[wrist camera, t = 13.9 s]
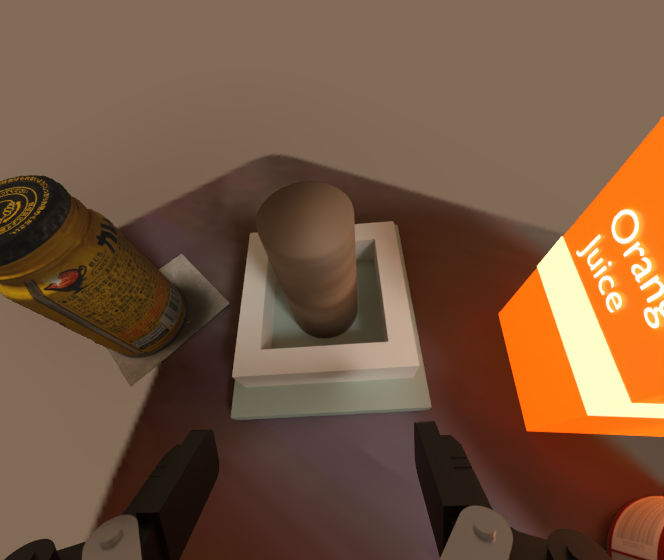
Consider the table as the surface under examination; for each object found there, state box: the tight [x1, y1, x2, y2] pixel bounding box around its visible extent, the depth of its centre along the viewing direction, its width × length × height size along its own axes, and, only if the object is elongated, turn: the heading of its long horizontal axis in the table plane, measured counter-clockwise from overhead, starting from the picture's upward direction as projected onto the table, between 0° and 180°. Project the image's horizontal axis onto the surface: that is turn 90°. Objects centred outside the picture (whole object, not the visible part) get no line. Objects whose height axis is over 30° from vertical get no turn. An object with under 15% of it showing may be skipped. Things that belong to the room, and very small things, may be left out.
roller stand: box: [231, 221, 431, 420], centre depth 22 cm, size 12×14×4 cm
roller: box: [256, 181, 358, 338], centre depth 19 cm, size 4×4×10 cm
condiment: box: [0, 175, 230, 386], centre depth 20 cm, size 7×8×12 cm
